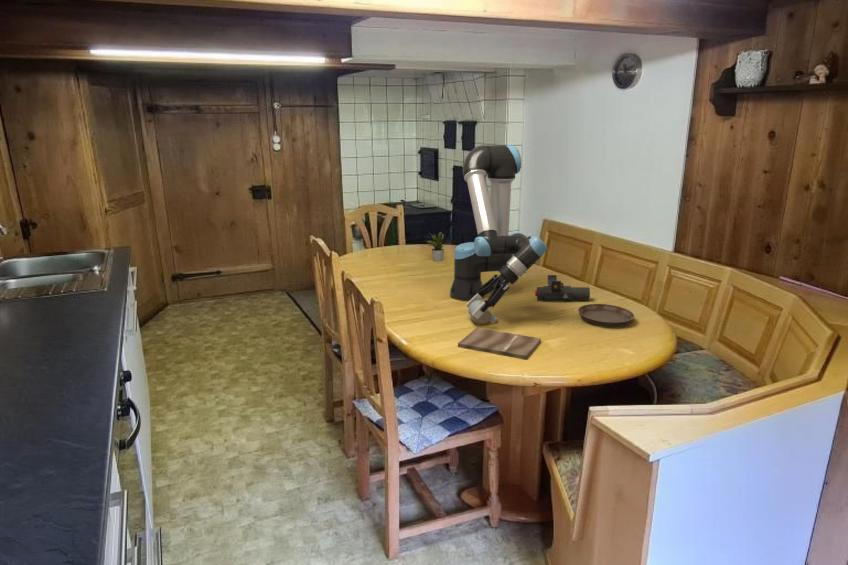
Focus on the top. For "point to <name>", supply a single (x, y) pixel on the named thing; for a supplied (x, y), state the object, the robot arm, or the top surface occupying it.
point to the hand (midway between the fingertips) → (471, 311)
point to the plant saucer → (605, 315)
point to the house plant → (437, 247)
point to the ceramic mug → (485, 316)
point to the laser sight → (561, 291)
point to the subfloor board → (500, 343)
